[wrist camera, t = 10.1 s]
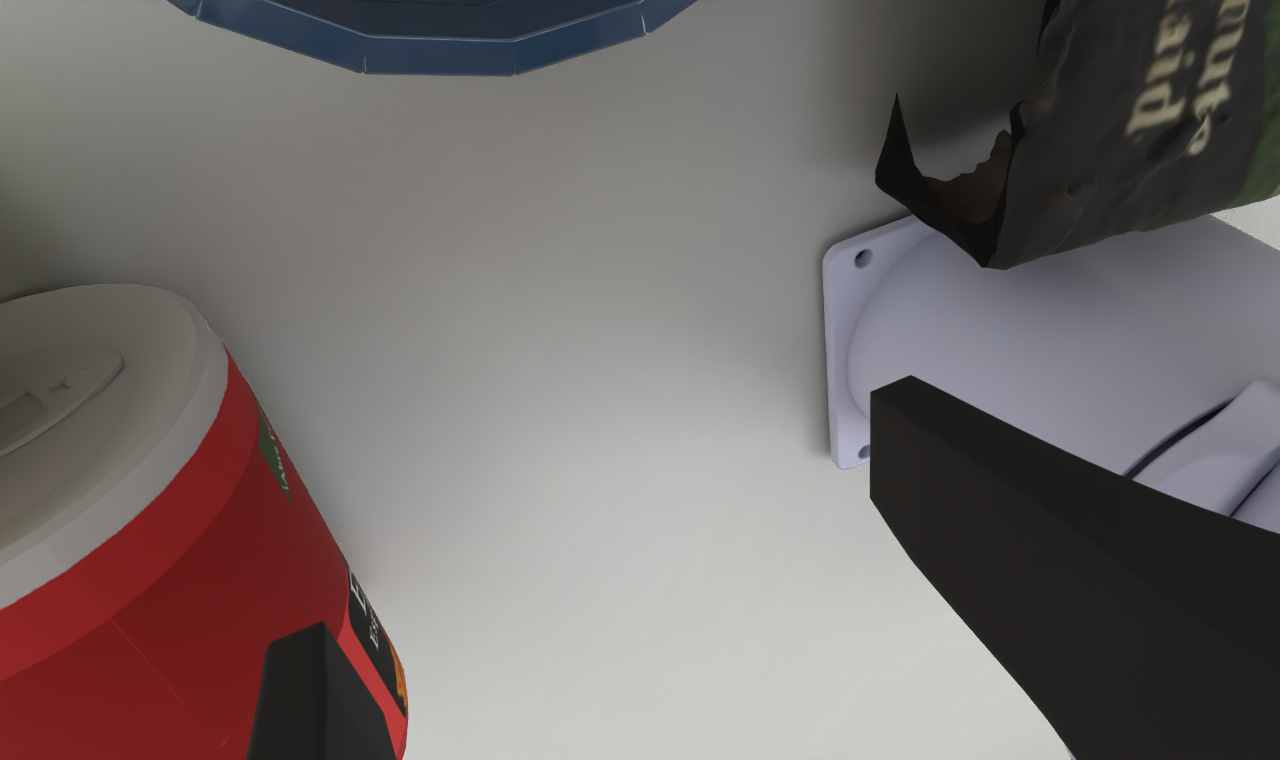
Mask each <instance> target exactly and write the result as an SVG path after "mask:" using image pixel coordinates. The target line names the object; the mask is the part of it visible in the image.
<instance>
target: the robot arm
mask: <svg viewBox="0 0 1280 760" xmlns="http://www.w3.org/2000/svg"><path fill="white" fill-rule="evenodd" d="M862 250H864V253H863V254H862V255H861V257H860V258H858V259H856V260H855V258H856V256H857V255H858V253H859V252H861V251H862ZM822 271H823V294H824V316H825V339H826V361H827V383H828V406H829V428H830V450H831V459H832V461H833V462H834V464H835V465H836V466H837V467H838V468H840V469H844V470H846V469H850V468H853V467H855V466H858V465H860V464H863V463H865V462H867V461H870V499H871V500H872V502H873V503H874V505H875V506H876V508H877V509H878V511H879V513H880V514H881V516H882V517H883V519H884V520H885V522H886V523H887V525H888V526H889V528H890V530H891V531H892V533H893V534H894V536H895V537H896V538H897V540H898V541H899V543H900V544H901V546H902V547H903V549H904V550H905V551H906V553H907V554H908V556H909V557H910V559H911V560H912V561H913V563H914V564H915V565H916V566H917V567H918V569H919V570H920V571H921V572H922V573H923V575H924V576H925V577H926V578H927V579H928V580H929V582H930V583H931V584H932V585H933V586H934V587H935V589H936V590H937V591H938V592H939V593H940V594H941V596H942V597H943V598H944V599H945V600H946V601H947V603H948V604H949V605H950V606H951V607H952V608H953V610H954V611H955V612H956V613H957V614H958V615H959V616H960V618H961V619H962V620H963V621H964V622H965V623H966V624H967V626H968V627H969V628H970V629H971V630H972V631H973V633H974V634H975V635H976V636H977V637H978V638H979V639H980V641H981V642H982V643H983V644H984V645H985V646H986V647H987V649H988V650H989V651H990V652H991V653H992V654H993V655H994V657H995V658H996V659H997V660H998V661H999V662H1000V664H1001V665H1002V666H1003V667H1004V668H1005V669H1006V670H1007V672H1008V673H1009V674H1010V675H1011V676H1012V677H1013V678H1014V680H1015V681H1016V682H1017V683H1018V684H1019V685H1020V687H1021V688H1022V689H1023V690H1024V691H1025V692H1026V694H1027V695H1028V696H1029V697H1030V699H1031V700H1032V701H1033V702H1034V704H1035V705H1036V706H1037V707H1038V709H1039V710H1040V711H1041V712H1042V714H1043V715H1044V716H1045V717H1046V719H1047V720H1048V721H1049V723H1050V724H1051V725H1052V727H1053V728H1054V730H1055V731H1056V732H1057V734H1058V735H1059V737H1060V738H1061V739H1062V741H1063V742H1064V744H1065V747H1066V749H1067V751H1068V753H1069V756H1070V758H1071V760H1280V251H1279V250H1277V249H1275V248H1273V247H1271V246H1269V245H1267V244H1265V243H1263V242H1261V241H1260V240H1258V239H1256V238H1254V237H1252V236H1250V235H1248V234H1246V233H1244V232H1242V231H1241V230H1239V229H1237V228H1235V227H1233V226H1231V225H1229V224H1227V223H1225V222H1223V221H1222V220H1220V219H1218V218H1216V217H1214V216H1212V215H1210V214H1206V215H1202V216H1200V217H1198V218H1197V219H1193V220H1189V221H1186V222H1182V223H1177V224H1173V225H1170V226H1167V227H1163V228H1161V229H1159V230H1154V231H1150V232H1139V231H1132V232H1127V233H1125V234H1122V235H1116V236H1112V237H1109V238H1106V239H1104V240H1103V241H1100V242H1098V243H1095V244H1093V245H1089V246H1084V247H1080V248H1077V249H1074V250H1070V251H1065V252H1062V253H1059V254H1055V255H1048V256H1044V257H1041V258H1038V259H1036V260H1033V261H1030V262H1026V263H1023V264H1021V265H1018V266H1015V267H1012V268H1010V269H1007V270H999V269H992V268H981V267H980V265H979V264H978V263H977V262H976V261H975V260H974V259H973V258H972V257H971V256H970V255H969V254H967V253H966V252H965V251H964V250H963V249H961V248H960V247H959V246H958V245H957V244H955V243H954V242H953V241H952V240H951V239H949V238H948V237H947V236H946V235H944V234H942V233H940V232H938V231H936V230H935V229H933V228H931V227H929V226H928V225H926V224H925V223H923V222H922V221H921V220H920V219H918V218H917V217H916V216H915V215H914V214H913V215H911V216H908V217H905V218H902V219H900V220H897V221H894V222H892V223H889V224H886V225H883V226H881V227H878V228H875V229H873V230H870V231H867V232H864V233H862V234H859V235H856V236H854V237H851V238H848V239H845V240H843V241H840V242H838V243H836V244H834V245H833V246H832V247H831V248H830V249H829V250H828V251H827V252H826V254H825V256H824V258H823V263H822ZM245 760H397V758H396V754H395V751H394V747H393V744H392V740H391V737H390V733H389V730H388V726H387V722H386V719H385V715H384V712H383V711H382V709H381V708H380V706H379V705H378V703H377V702H376V700H375V699H374V697H373V696H372V694H371V693H370V691H369V689H368V688H367V686H366V685H365V683H364V682H363V680H362V679H361V677H360V676H359V674H358V673H357V671H356V670H355V668H354V667H353V665H352V663H351V662H350V660H349V659H348V657H347V656H346V654H345V653H344V651H343V650H342V648H341V647H340V645H339V644H338V642H337V641H336V639H335V638H334V636H333V634H332V633H331V631H330V630H329V628H328V627H327V625H326V624H325V622H324V621H320V622H318V623H316V624H313V625H311V626H308V627H306V628H304V629H301V630H299V631H296V632H294V633H292V634H289V635H287V636H284V637H282V638H280V639H277V640H275V641H272V642H271V643H270V644H269V646H268V648H267V650H266V651H265V656H264V662H263V669H262V675H261V681H260V687H259V693H258V699H257V704H256V710H255V715H254V720H253V725H252V730H251V735H250V740H249V744H248V749H247V754H246V758H245Z"/></svg>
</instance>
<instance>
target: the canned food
mask: <svg viewBox="0 0 1280 760" xmlns="http://www.w3.org/2000/svg"><path fill="white" fill-rule="evenodd" d="M320 621H324V622H325V624H326V625H327V627H328V628H329V630H330V631H331V633H332V634H333V636H334V638H335V639H336V641H337V642H338V644H339V645H340V647H341V648H342V650H343V651H344V653H345V654H346V656H347V657H348V659H349V660H350V662H351V663H352V665H353V667H354V668H355V670H356V671H357V673H358V674H359V676H360V677H361V679H362V680H363V682H364V683H365V685H366V686H367V688H368V689H369V691H370V693H371V694H372V696H373V697H374V699H375V700H376V702H377V703H378V705H379V706H380V708H381V709H382V711H383V712H384V715H385V719H386V722H387V726H388V730H389V733H390V737H391V740H392V744H393V747H394V751H395V754H396V758H397V760H402V759H403V755H404V752H405V748H406V739H407V727H408V697H407V690H406V683H405V676H404V670H403V667H402V665H401V663H400V660H399V658H398V655H397V653H396V651H395V648H394V646H393V645H392V643H391V641H390V639H389V637H388V636H387V634H386V632H385V630H384V628H383V627H382V625H381V623H380V621H379V619H378V617H377V616H376V614H375V612H374V610H373V608H372V607H371V605H370V603H369V601H368V599H367V598H366V596H365V594H364V592H363V590H362V589H361V587H360V585H359V583H358V581H357V580H356V578H355V576H354V574H353V572H352V571H351V569H350V567H349V565H348V563H347V562H346V560H345V558H344V556H343V554H342V553H341V551H340V549H339V547H338V545H337V544H336V542H335V540H334V538H333V536H332V534H331V533H330V531H329V529H328V527H327V525H326V524H325V522H324V520H323V518H322V516H321V515H320V513H319V511H318V509H317V507H316V506H315V504H314V502H313V500H312V498H311V497H310V495H309V493H308V491H307V489H306V488H305V486H304V484H303V482H302V480H301V479H300V477H299V475H298V473H297V471H296V470H295V468H294V466H293V464H292V462H291V461H290V459H289V457H288V455H287V453H286V451H285V450H284V448H283V446H282V444H281V442H280V441H279V439H278V437H277V435H276V433H275V432H274V430H273V428H272V426H271V424H270V423H269V421H268V419H267V417H266V415H265V414H264V412H263V410H262V408H261V406H260V405H259V403H258V401H257V399H256V397H255V396H254V394H253V392H252V390H251V388H250V387H249V385H248V383H247V382H246V380H245V379H244V377H243V376H242V375H241V373H240V371H239V370H238V368H237V366H236V364H235V363H234V361H233V359H232V357H231V356H230V354H229V352H228V350H227V348H226V347H225V345H224V343H223V341H222V340H221V338H220V337H219V336H218V335H217V334H216V333H215V332H214V331H213V330H212V329H211V328H210V326H209V325H208V323H207V321H206V319H205V318H204V316H203V314H202V313H201V312H200V311H199V310H198V309H197V308H196V307H195V306H194V305H193V304H192V303H191V302H190V301H189V300H188V299H186V298H184V297H182V296H180V295H178V294H176V293H174V292H171V291H169V290H167V289H164V288H159V287H154V286H148V285H143V284H138V283H101V284H92V285H83V286H75V287H67V288H62V289H58V290H53V291H48V292H44V293H39V294H35V295H30V296H25V297H21V298H18V299H15V300H11V301H8V302H5V303H2V304H0V760H245V758H246V754H247V749H248V744H249V740H250V735H251V730H252V725H253V720H254V715H255V710H256V704H257V699H258V693H259V687H260V681H261V675H262V669H263V662H264V656H265V651H266V650H267V648H268V646H269V644H270V643H271V642H272V641H275V640H277V639H280V638H282V637H284V636H287V635H289V634H292V633H294V632H296V631H299V630H301V629H304V628H306V627H308V626H311V625H313V624H316V623H318V622H320Z"/></svg>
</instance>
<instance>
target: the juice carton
mask: <svg viewBox="0 0 1280 760" xmlns="http://www.w3.org/2000/svg"><path fill="white" fill-rule="evenodd" d="M1045 53H1051V54H1054V55H1056V56H1057V57H1058V61H1057V64H1056V66H1055V68H1054V69H1053V71H1052V72H1051V74H1050V75H1049V76H1048V77H1047V79H1046V80H1045V81H1044V82H1043V84H1042V85H1041V86H1040V87H1039V88H1038V89H1037V90H1036V91H1035V92H1034V93H1033V94H1031V95H1030V96H1028V97H1027V98H1025V99H1023V100H1022V101H1020V102H1019V103H1017V104H1015V105H1014V106H1013V107H1012V109H1011V110H1010V111H1009V116H1010V124H1011V134H1010V133H1009V132H1007V131H1006V130H1002V131H1000V132H999V133H998V135H997V137H996V141H995V145H994V147H993V149H992V151H991V152H990V158H989V159H988V160H987V161H986V162H984V163H979V164H977V169H976V170H975V171H974V172H973V173H961V174H960V176H958V177H956V178H954V179H952V180H951V181H941V180H938V179H935V178H932V177H926V176H922V174H921V173H920V171H919V170H918V169H917V167H916V166H915V164H914V160H913V157H912V153H911V149H910V145H909V141H908V137H907V133H906V129H905V125H904V122H903V118H902V114H901V110H900V105H899V100H898V95H897V93H896V97H895V102H894V106H893V110H892V114H891V118H890V122H889V127H888V131H887V135H886V139H885V142H884V145H883V148H882V151H881V154H880V157H879V160H878V163H877V166H876V169H875V183H876V185H877V186H878V187H879V188H880V189H881V190H882V191H883V192H885V193H886V194H888V195H890V196H891V197H893V198H894V199H896V200H897V201H899V202H900V203H902V204H903V205H905V206H906V207H907V208H908V209H909V210H910V211H911V212H913V214H914V215H915V216H916V217H917V218H918V219H920V220H921V221H922V222H923V223H925V224H926V225H928V226H929V227H931V228H933V229H935V230H936V231H938V232H940V233H942V234H944V235H946V236H947V237H948V238H949V239H951V240H952V241H953V242H954V243H955V244H957V245H958V246H959V247H960V248H961V249H963V250H964V251H965V252H966V253H967V254H969V255H970V256H971V257H972V258H973V259H974V260H975V261H976V262H977V263H978V264H979V265H980V267H981V268H992V269H999V270H1007V269H1010V268H1012V267H1015V266H1018V265H1021V264H1023V263H1026V262H1030V261H1033V260H1036V259H1038V258H1041V257H1044V256H1048V255H1055V254H1059V253H1062V252H1065V251H1070V250H1074V249H1077V248H1080V247H1084V246H1089V245H1093V244H1095V243H1098V242H1100V241H1103V240H1104V239H1106V238H1109V237H1112V236H1116V235H1122V234H1125V233H1127V232H1132V231H1139V232H1150V231H1154V230H1159V229H1161V228H1163V227H1167V226H1170V225H1173V224H1177V223H1182V222H1186V221H1189V220H1193V219H1197V218H1198V217H1200V216H1202V215H1206V214H1211V213H1215V212H1218V211H1221V210H1226V209H1231V208H1236V207H1240V206H1244V205H1247V204H1250V203H1254V202H1259V201H1263V200H1267V199H1269V198H1272V197H1274V196H1277V195H1279V194H1280V0H1046V1H1045V6H1044V12H1043V18H1042V24H1041V30H1040V36H1039V42H1038V48H1037V55H1038V56H1039V57H1040V56H1042V55H1043V54H1045Z"/></svg>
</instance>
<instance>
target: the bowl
mask: <svg viewBox="0 0 1280 760" xmlns="http://www.w3.org/2000/svg"><path fill="white" fill-rule="evenodd" d="M167 1H168V2H170V3H171V4H173V5H174V6H176V7H177V8H179V9H180V10H182V11H183V12H185V13H186V14H188V15H190V16H195V17H196V19H198V20H199V21H202V22H205V23H208V24H211V25H214V26H217V27H220V28H223V29H226V30H229V31H232V32H235V33H238V34H241V35H244V36H247V37H250V38H253V39H257V40H260V41H263V42H266V43H269V44H272V45H275V46H278V47H281V48H284V49H287V50H290V51H293V52H296V53H299V54H302V55H305V56H308V57H311V58H314V59H317V60H320V61H323V62H326V63H329V64H332V65H335V66H338V67H342V68H345V69H348V70H351V71H354V72H357V73H362V72H363V73H365V74H369V75H426V76H483V77H511V76H513V74H514V75H521V74H524V73H527V72H530V71H534V70H537V69H540V68H543V67H546V66H550V65H553V64H556V63H559V62H562V61H566V60H569V59H572V58H575V57H579V56H582V55H585V54H588V53H591V52H595V51H598V50H601V49H604V48H608V47H611V46H614V45H617V44H620V43H624V42H627V41H630V40H633V39H637V38H640V37H643V36H645V35H646V32H647V33H651V32H653V31H654V30H656V29H657V28H658V27H660V26H661V25H663V24H664V23H666V22H667V21H669V20H670V19H671V18H673V17H674V16H676V15H677V14H679V13H680V12H681V11H683V10H684V9H686V8H687V7H689V6H690V5H691V4H693V3H694V2H696V1H697V0H167Z"/></svg>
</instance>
